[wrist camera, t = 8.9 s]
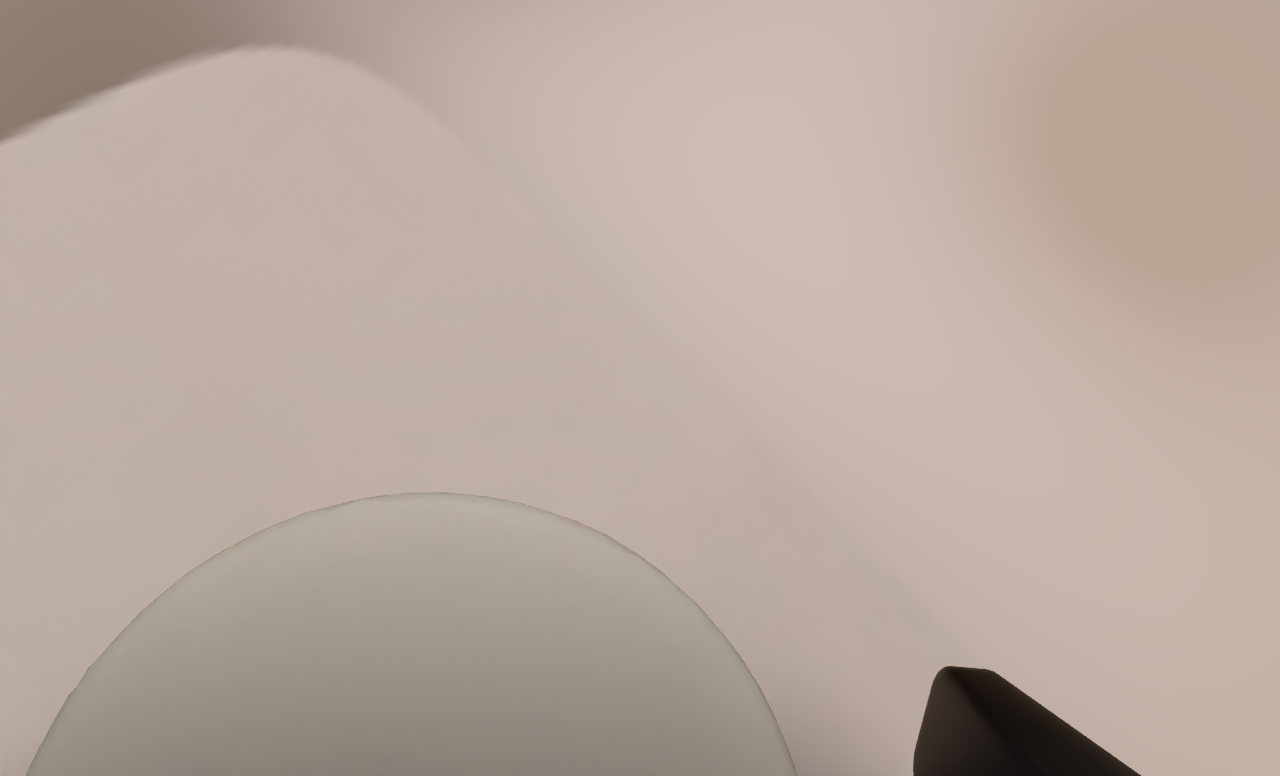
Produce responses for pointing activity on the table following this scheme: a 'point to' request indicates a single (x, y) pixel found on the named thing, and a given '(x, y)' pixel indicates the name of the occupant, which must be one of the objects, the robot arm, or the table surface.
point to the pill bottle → (419, 658)
